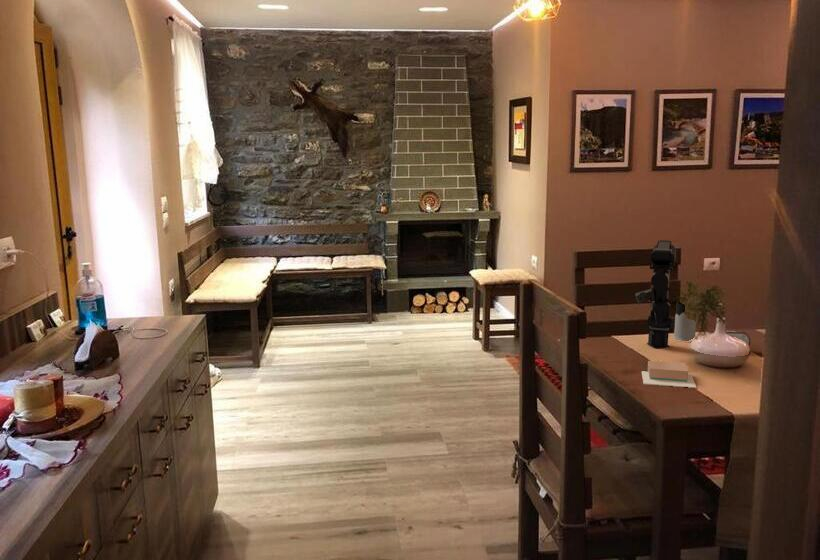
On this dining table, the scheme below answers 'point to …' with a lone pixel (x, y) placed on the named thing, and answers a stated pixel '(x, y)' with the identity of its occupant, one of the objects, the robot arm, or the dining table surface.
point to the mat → (668, 381)
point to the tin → (739, 335)
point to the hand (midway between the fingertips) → (658, 325)
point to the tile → (667, 371)
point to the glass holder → (683, 325)
